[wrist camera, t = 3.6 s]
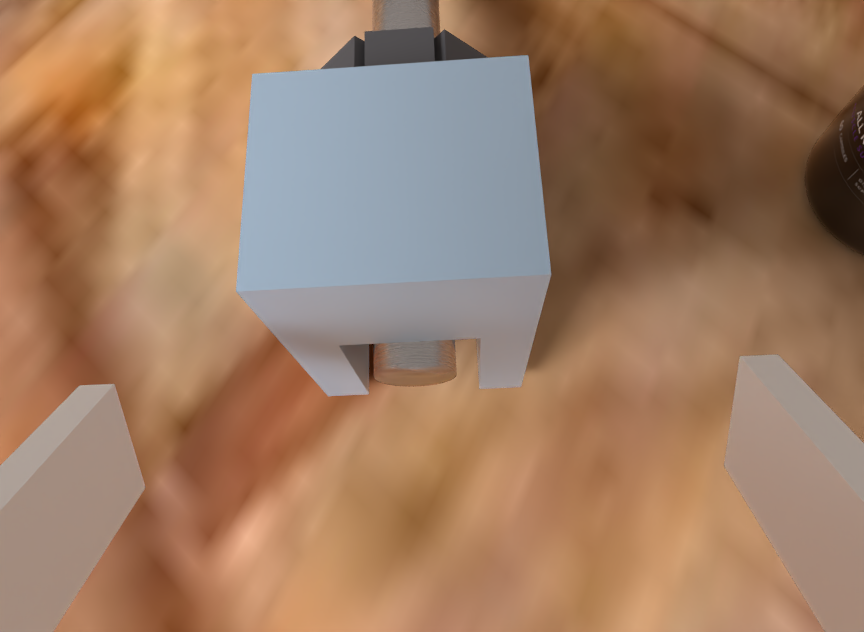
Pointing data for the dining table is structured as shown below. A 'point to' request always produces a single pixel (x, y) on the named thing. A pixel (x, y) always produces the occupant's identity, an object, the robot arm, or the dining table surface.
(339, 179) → the sleeve
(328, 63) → the ring
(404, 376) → the pipe rig
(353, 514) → the dining table surface
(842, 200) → the supplement bottle
